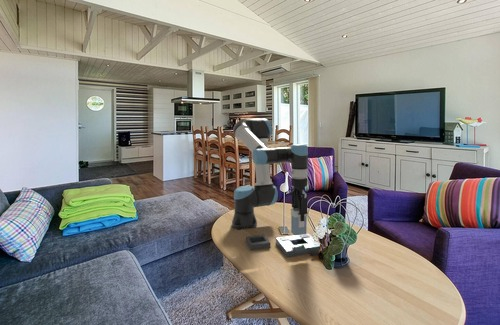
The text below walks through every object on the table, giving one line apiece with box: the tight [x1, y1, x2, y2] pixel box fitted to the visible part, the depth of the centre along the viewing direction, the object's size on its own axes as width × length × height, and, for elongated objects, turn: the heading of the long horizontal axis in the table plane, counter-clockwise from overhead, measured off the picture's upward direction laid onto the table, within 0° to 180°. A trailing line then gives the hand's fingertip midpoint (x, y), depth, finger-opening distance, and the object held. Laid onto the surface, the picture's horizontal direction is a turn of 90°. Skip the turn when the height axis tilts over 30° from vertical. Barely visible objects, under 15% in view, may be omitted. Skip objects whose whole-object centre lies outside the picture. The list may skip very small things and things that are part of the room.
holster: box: [245, 233, 271, 251], centre depth 130 cm, size 10×10×4 cm
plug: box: [290, 207, 308, 236], centre depth 123 cm, size 4×6×12 cm
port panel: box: [275, 233, 321, 258], centre depth 126 cm, size 14×18×5 cm
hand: (299, 224), depth 124 cm, fingers closed on plug, 4 cm apart
